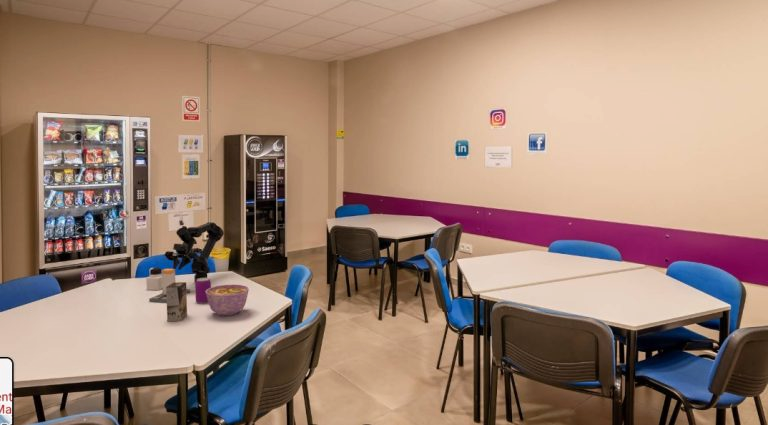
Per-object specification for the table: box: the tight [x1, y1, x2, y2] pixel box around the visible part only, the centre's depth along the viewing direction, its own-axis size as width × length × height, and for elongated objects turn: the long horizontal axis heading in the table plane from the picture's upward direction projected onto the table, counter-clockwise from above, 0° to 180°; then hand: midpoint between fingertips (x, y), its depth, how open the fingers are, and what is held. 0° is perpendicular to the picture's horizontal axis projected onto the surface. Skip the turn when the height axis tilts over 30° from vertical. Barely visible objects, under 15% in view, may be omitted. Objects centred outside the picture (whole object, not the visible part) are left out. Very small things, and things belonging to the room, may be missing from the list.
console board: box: [148, 288, 191, 304], centre depth 261 cm, size 21×10×2 cm, turn 170°
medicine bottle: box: [145, 266, 162, 291], centre depth 276 cm, size 7×7×12 cm
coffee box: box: [166, 281, 188, 322], centre depth 226 cm, size 9×6×16 cm
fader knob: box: [161, 268, 176, 294], centre depth 259 cm, size 4×5×13 cm
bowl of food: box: [205, 284, 250, 317], centre depth 235 cm, size 20×20×12 cm
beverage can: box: [194, 277, 212, 304], centre depth 253 cm, size 8×8×12 cm
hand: (176, 269), depth 266 cm, fingers open, 3 cm apart
